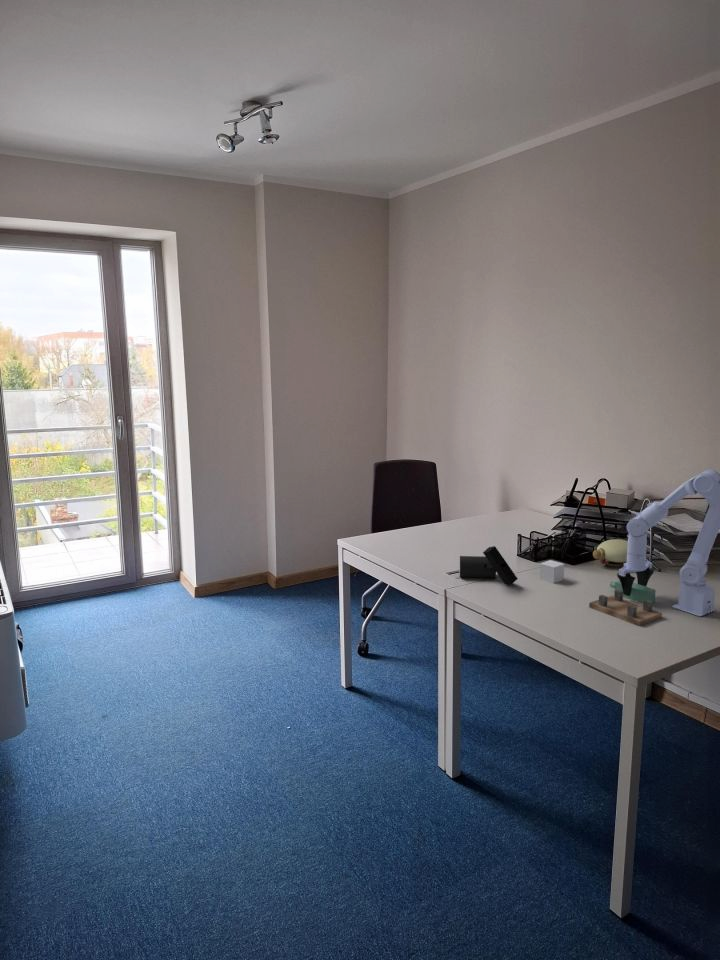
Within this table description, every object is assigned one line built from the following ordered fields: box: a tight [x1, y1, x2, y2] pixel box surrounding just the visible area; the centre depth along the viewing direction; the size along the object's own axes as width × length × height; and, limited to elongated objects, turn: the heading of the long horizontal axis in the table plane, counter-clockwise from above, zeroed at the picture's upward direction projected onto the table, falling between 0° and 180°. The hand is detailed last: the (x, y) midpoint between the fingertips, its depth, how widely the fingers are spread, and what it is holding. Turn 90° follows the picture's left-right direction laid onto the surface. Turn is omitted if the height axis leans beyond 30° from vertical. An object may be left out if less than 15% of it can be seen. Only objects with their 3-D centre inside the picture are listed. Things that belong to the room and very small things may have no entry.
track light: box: [459, 545, 518, 586], centre depth 235 cm, size 15×14×20 cm
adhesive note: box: [539, 559, 565, 584], centre depth 234 cm, size 6×6×6 cm
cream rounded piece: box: [592, 538, 628, 567], centre depth 248 cm, size 9×16×18 cm
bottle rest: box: [588, 590, 663, 627], centre depth 203 cm, size 18×11×4 cm, turn 32°
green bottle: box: [609, 580, 657, 604], centre depth 216 cm, size 15×4×4 cm, turn 31°
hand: (634, 592), depth 215 cm, fingers open, 7 cm apart
